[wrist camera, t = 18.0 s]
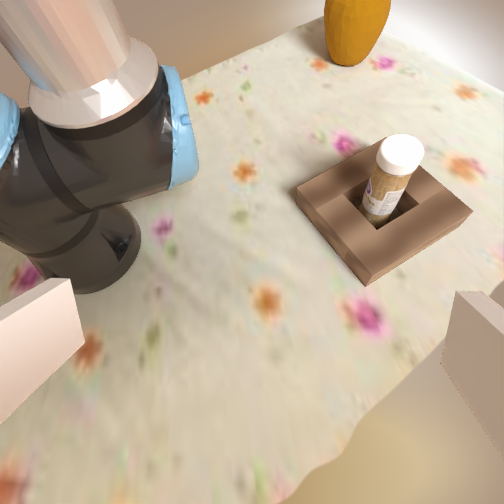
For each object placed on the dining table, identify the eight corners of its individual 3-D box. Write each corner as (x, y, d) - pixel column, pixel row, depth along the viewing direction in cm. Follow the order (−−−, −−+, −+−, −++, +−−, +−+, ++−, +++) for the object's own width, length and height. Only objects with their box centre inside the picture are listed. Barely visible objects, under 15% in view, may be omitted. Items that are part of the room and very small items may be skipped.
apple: (382, 43, 62) (403, -39, 51) (371, 78, 58) (390, -2, 47) (327, 38, 65) (336, -41, 54) (313, 70, 61) (318, -7, 50)
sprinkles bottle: (352, 207, 46) (373, 138, 35) (381, 199, 46) (413, 127, 35) (364, 232, 44) (391, 168, 32) (395, 224, 44) (433, 157, 32)
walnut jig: (296, 203, 48) (296, 187, 44) (379, 156, 50) (386, 137, 46) (365, 286, 41) (372, 275, 37) (458, 227, 43) (473, 211, 40)
